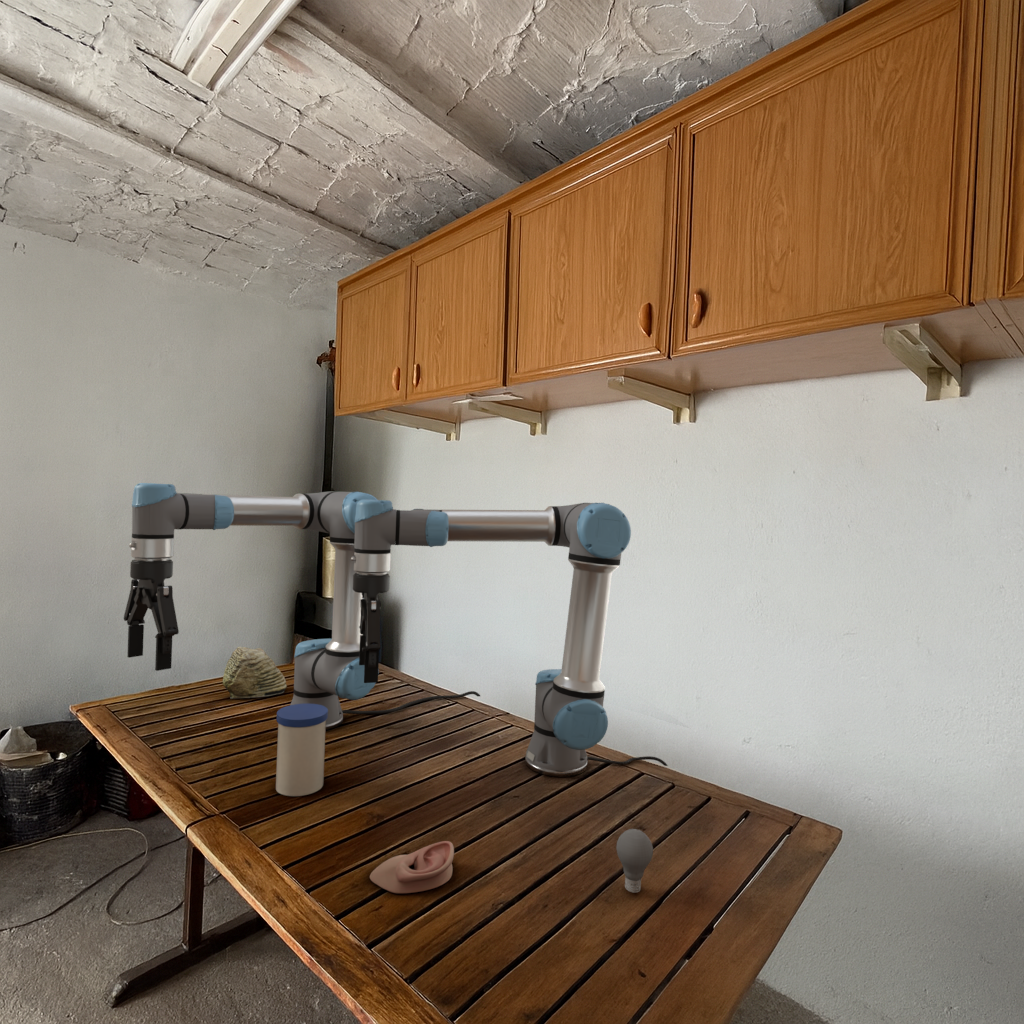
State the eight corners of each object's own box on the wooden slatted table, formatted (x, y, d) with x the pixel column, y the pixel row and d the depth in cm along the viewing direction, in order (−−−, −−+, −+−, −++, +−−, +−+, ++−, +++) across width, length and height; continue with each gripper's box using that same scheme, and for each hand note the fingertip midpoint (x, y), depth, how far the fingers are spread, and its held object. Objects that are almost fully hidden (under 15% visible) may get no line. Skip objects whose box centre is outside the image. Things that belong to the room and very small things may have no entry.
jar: (311, 798, 133) (314, 723, 133) (266, 793, 134) (269, 719, 134) (330, 778, 143) (333, 708, 142) (289, 773, 144) (291, 704, 144)
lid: (314, 729, 132) (315, 721, 132) (267, 724, 134) (267, 717, 134) (335, 712, 143) (335, 705, 143) (290, 708, 144) (291, 701, 144)
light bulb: (610, 879, 108) (613, 822, 108) (644, 879, 109) (647, 822, 109) (619, 902, 102) (622, 840, 102) (655, 901, 103) (658, 840, 103)
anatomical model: (362, 863, 103) (389, 828, 114) (361, 887, 103) (389, 850, 114) (440, 876, 100) (460, 839, 112) (439, 901, 101) (459, 861, 112)
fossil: (218, 695, 195) (220, 647, 195) (278, 685, 208) (279, 640, 207) (228, 703, 189) (230, 653, 188) (289, 692, 201) (290, 645, 201)
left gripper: (108, 554, 134) (104, 654, 134) (159, 565, 118) (155, 678, 119) (146, 552, 140) (143, 648, 140) (199, 563, 124) (195, 671, 124)
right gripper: (349, 566, 144) (346, 658, 144) (357, 580, 120) (353, 691, 121) (383, 566, 146) (380, 657, 147) (397, 580, 122) (393, 689, 123)
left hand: (148, 662), depth 129 cm, fingers open, 13 cm apart
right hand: (368, 673), depth 134 cm, fingers open, 13 cm apart
